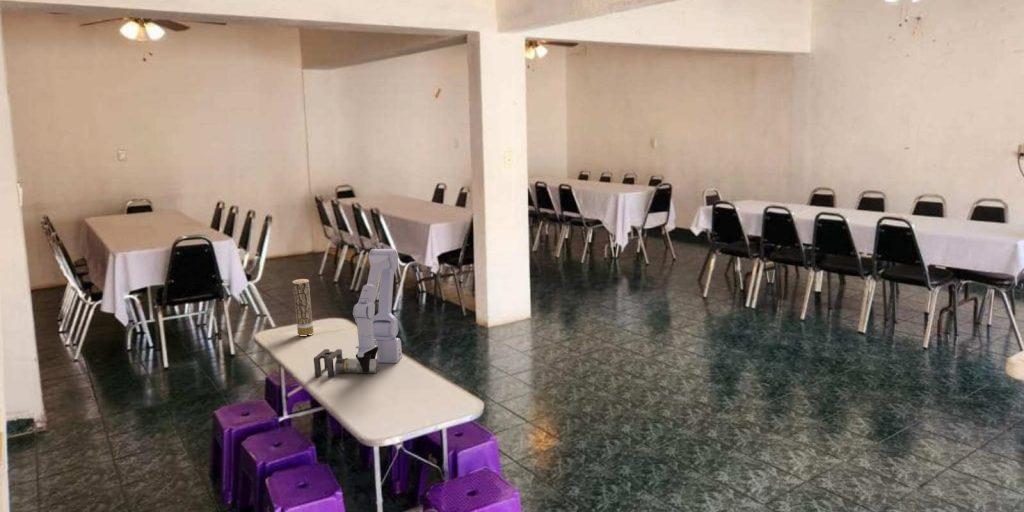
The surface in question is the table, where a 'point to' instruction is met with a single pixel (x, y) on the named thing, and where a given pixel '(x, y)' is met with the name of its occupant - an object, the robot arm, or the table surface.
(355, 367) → the grey metal cylinder
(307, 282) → the log
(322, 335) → the table surface
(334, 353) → the brown bracket plates
